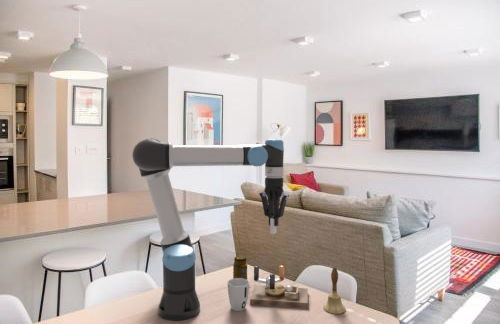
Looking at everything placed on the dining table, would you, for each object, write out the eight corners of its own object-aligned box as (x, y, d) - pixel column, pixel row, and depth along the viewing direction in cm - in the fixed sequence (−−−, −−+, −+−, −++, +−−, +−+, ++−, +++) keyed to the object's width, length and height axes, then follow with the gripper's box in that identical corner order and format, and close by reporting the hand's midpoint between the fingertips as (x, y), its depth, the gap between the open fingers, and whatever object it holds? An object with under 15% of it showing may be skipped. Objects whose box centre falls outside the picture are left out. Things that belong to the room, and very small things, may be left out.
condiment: (246, 280, 175) (246, 254, 174) (250, 288, 167) (250, 260, 166) (230, 282, 173) (230, 255, 172) (233, 289, 165) (233, 261, 164)
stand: (250, 304, 151) (250, 293, 151) (254, 289, 165) (254, 279, 165) (307, 308, 148) (307, 296, 148) (307, 293, 162) (307, 282, 161)
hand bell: (321, 311, 145) (322, 269, 144) (325, 302, 153) (326, 262, 152) (343, 315, 142) (345, 273, 141) (347, 306, 150) (348, 265, 149)
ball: (284, 295, 154) (284, 287, 154) (285, 291, 158) (285, 284, 157) (292, 295, 154) (292, 287, 154) (293, 292, 157) (293, 284, 157)
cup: (246, 313, 143) (246, 287, 142) (224, 311, 145) (225, 285, 144) (250, 304, 151) (250, 279, 150) (230, 302, 153) (230, 277, 152)
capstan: (252, 298, 151) (252, 274, 150) (254, 286, 162) (254, 264, 162) (284, 300, 150) (285, 276, 149) (284, 288, 161) (285, 265, 160)
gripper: (255, 176, 161) (255, 232, 163) (283, 179, 154) (282, 237, 156) (265, 175, 167) (264, 229, 169) (292, 177, 160) (291, 233, 162)
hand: (273, 233), depth 163 cm, fingers closed
